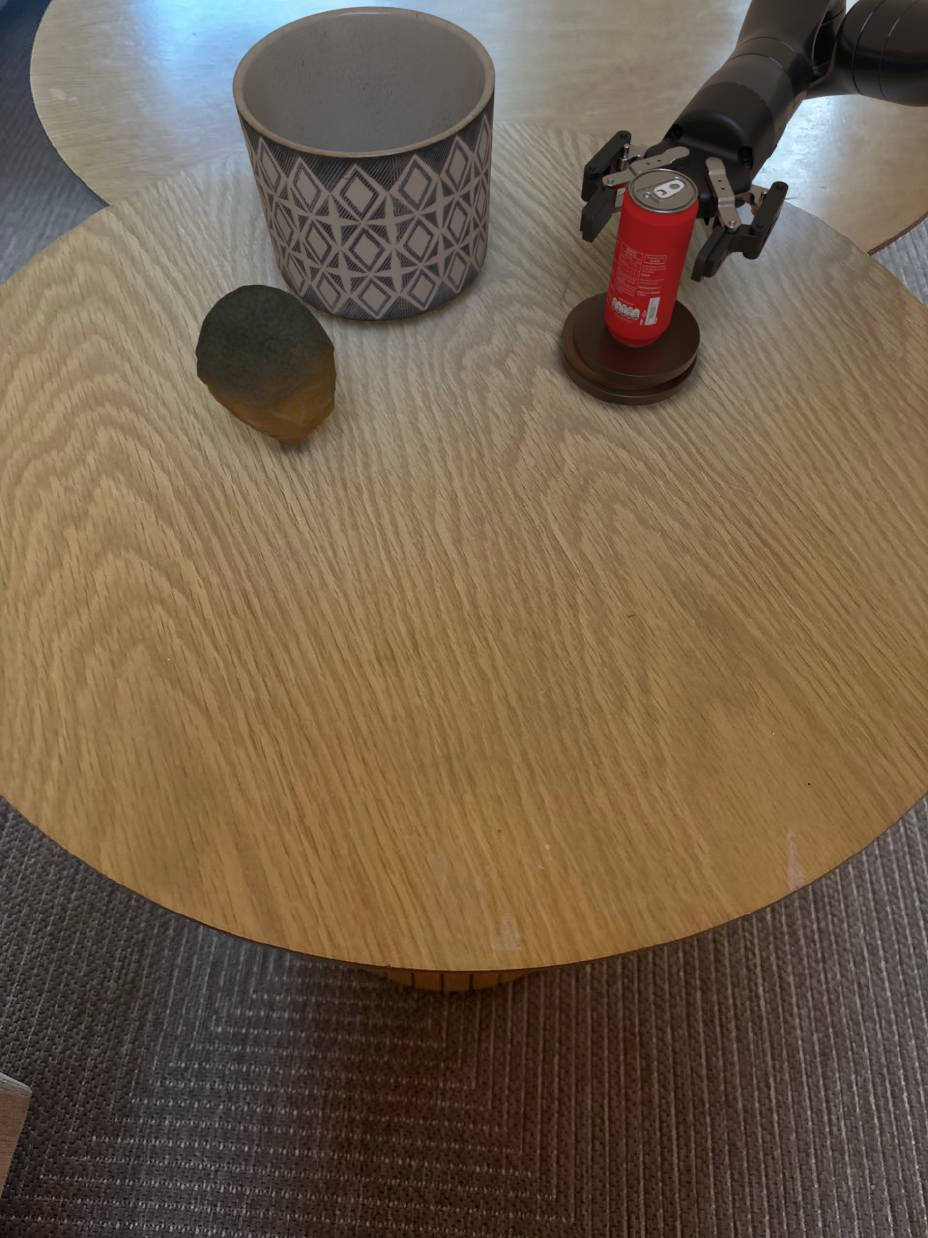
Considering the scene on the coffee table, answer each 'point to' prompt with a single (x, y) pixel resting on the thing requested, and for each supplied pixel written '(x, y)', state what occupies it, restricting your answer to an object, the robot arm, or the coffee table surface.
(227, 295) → the decorative stone
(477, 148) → the planter
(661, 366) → the disc pile
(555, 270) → the coffee table surface
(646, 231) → the beverage can
